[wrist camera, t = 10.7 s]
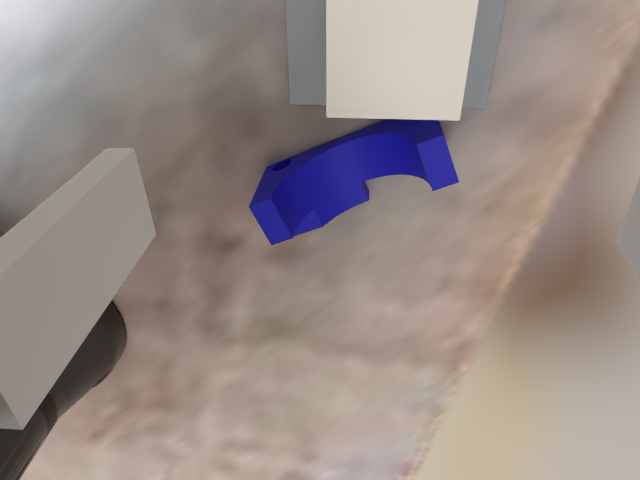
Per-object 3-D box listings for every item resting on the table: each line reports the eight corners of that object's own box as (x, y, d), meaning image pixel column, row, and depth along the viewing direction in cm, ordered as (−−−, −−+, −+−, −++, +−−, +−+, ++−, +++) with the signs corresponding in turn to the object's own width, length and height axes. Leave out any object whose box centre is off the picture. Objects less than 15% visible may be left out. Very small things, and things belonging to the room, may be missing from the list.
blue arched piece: (294, 216, 36) (282, 263, 31) (267, 165, 34) (248, 206, 29) (451, 161, 32) (466, 204, 27) (431, 100, 30) (443, 135, 25)
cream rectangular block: (337, 72, 28) (326, 117, 22) (338, -44, 25) (326, -33, 18) (439, 74, 28) (459, 120, 21) (454, -45, 25) (484, -34, 18)
